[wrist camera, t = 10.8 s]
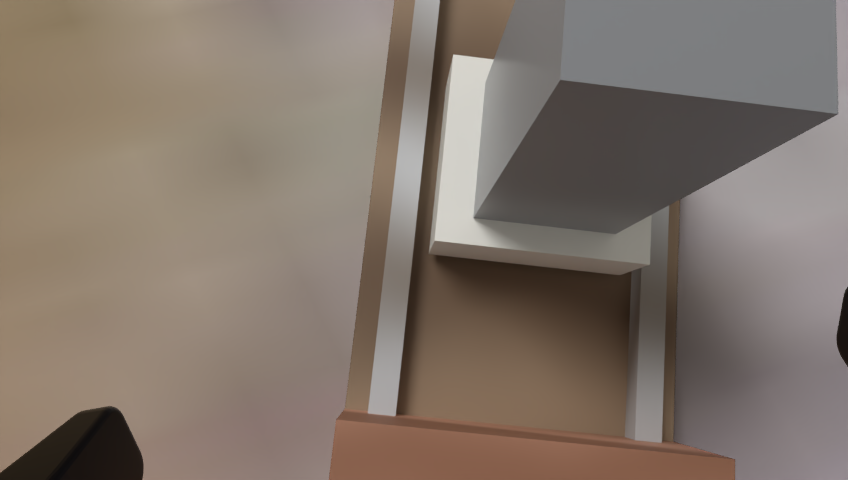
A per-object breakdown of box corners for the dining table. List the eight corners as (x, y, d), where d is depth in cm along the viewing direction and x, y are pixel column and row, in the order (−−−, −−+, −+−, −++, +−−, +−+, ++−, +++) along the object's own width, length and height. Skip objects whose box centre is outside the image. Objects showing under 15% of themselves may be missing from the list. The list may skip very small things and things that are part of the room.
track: (657, 503, 20) (734, 544, 16) (338, 473, 20) (325, 506, 15) (678, -156, 25) (742, -268, 20) (419, -192, 24) (426, -315, 20)
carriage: (619, 275, 20) (908, 172, 9) (428, 253, 20) (484, 121, 9) (627, 109, 21) (894, -165, 10) (445, 87, 21) (514, -218, 10)
